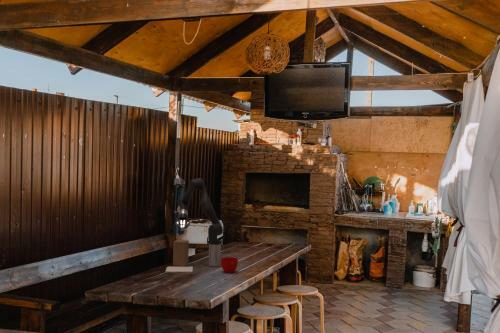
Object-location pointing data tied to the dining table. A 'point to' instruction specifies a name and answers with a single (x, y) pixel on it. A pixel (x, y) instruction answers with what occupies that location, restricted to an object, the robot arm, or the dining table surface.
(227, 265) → the ceramic cup
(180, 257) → the wooden block
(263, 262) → the dining table surface
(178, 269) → the pale grey mat
